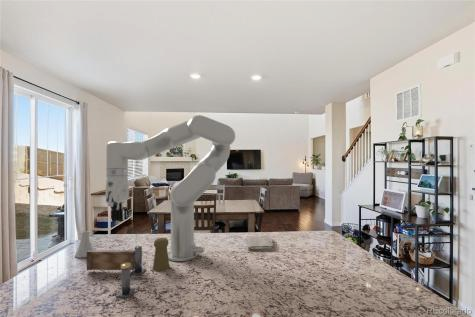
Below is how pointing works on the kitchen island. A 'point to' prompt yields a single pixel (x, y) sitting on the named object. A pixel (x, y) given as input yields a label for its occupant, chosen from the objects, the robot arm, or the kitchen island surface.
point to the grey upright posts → (125, 274)
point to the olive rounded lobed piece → (161, 255)
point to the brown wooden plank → (109, 259)
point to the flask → (84, 245)
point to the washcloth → (259, 243)
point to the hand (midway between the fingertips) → (116, 219)
